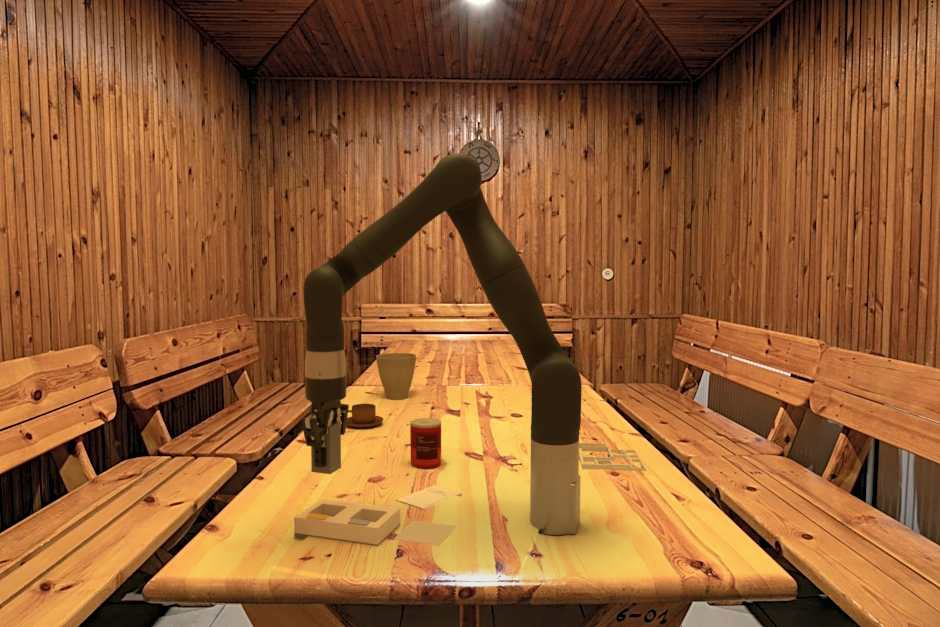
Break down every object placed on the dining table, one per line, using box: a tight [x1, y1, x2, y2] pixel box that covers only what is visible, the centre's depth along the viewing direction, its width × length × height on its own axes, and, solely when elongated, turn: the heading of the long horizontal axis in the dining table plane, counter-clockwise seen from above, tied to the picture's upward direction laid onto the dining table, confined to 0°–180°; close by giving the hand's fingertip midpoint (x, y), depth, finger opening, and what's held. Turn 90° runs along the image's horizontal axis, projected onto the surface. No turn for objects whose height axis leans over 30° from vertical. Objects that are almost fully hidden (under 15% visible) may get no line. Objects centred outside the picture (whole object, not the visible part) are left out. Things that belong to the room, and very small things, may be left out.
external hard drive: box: [395, 484, 463, 510], centre depth 143 cm, size 2×8×12 cm
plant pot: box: [375, 352, 417, 401], centre depth 248 cm, size 15×15×16 cm
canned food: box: [409, 417, 442, 470], centre depth 168 cm, size 8×8×11 cm
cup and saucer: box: [346, 403, 384, 429], centre depth 208 cm, size 12×12×6 cm
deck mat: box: [393, 520, 457, 546], centre depth 124 cm, size 9×9×1 cm
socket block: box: [293, 498, 401, 547], centre depth 126 cm, size 17×10×4 cm, turn 72°
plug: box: [310, 422, 342, 475], centre depth 126 cm, size 4×4×9 cm
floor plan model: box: [579, 442, 647, 472], centre depth 173 cm, size 19×25×2 cm
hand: (326, 462), depth 126 cm, fingers closed on plug, 4 cm apart
